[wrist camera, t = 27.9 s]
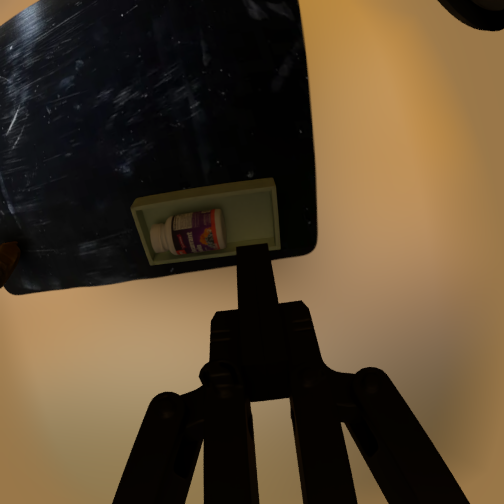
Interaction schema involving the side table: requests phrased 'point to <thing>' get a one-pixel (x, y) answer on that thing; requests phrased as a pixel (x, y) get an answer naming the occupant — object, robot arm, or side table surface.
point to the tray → (207, 198)
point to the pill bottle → (190, 233)
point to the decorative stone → (8, 260)
